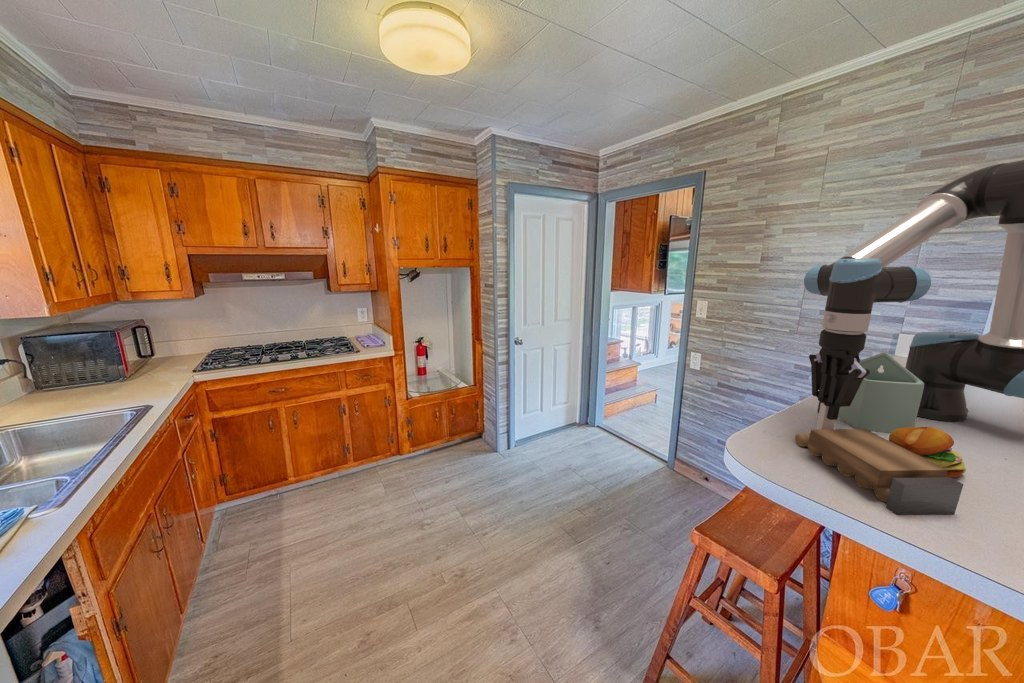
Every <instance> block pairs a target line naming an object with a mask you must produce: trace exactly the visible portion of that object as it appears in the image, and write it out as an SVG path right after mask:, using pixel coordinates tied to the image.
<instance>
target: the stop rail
mask: <svg viewBox="0 0 1024 683" xmlns="http://www.w3.org/2000/svg"><path fill="white" fill-rule="evenodd" d="M963 488H964V483H963V482H960V481H958V480H956V479H954V478H953V477H936V478H893V480H892V484H891V488H890V492H889V496H888V500H887V502H886V504H885V508H886V509H887V510H889V511H891V512H892V513H893V514H895V515H896V516H901V515H902V516H912V515H914V516H922V515H923V516H925V515H926V516H927V515H928V516H930V515H931V516H933V515H934V516H935V515H936V516H937V515H939V516H940V515H941V516H943V515H955V514H956V510H957V507H958V504H959V501H960V497H961V494H962V491H963Z"/></svg>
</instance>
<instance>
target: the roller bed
mask: <svg viewBox="0 0 1024 683" xmlns="http://www.w3.org/2000/svg"><path fill="white" fill-rule="evenodd" d="M809 436H810V432H808V433H807V432H806V433H801V432H800V433H796V434H795V436H794V437H795V438H794V439H795V443H796V445H797V446H799V447H807V449H808V452H809V453H810V454H811V455H813V456H821V457H822V460H823V462H824V464H826V466H827V465H828V466H837V469H838V471H839V473H840V474H841V475H842V476H844V477H854V480H855V482H856V484H857V485H858V486H859V487H860V488H862V489H873V490H874V494H875V496H876V498H877V499H878V500H880V501H881V502H884V503H887V500H888V496H889V492H890V488H876V487H875V486H873V485H872V484H870V483H868V482H867V481H865V480H864V479H862V478H861V477H859V476H857V475H856V474H854V473H853V472H851V471H850V470H848V469H847V468H845V467H843V466H842V465H840V464H839V463H837V462H836V461H834V460H833V459H831V458H829V457H828V456H826V455H825V454H823V453H822V452H820V451H818V450H817V449H815V448H814V447H812V446H811V445H809V444H808V441H809Z"/></svg>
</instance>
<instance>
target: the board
mask: <svg viewBox="0 0 1024 683" xmlns="http://www.w3.org/2000/svg"><path fill="white" fill-rule="evenodd" d="M809 433H810V436H809V441H808V444H809V445H811V446H812V447H814V448H815V449H817V450H818V451H820V452H822V453H823V454H825V455H826V456H828V457H829V458H831V459H833V460H834V461H836V462H837V463H839V464H840V465H842V466H843V467H845V468H847V469H848V470H850V471H851V472H853V473H854V474H856V475H857V476H859V477H861V478H862V479H864V480H865V481H867V482H868V483H870V484H872V485H873V486H875V487H876V488H891V484H892V480H893V478H936V477H946V475H947V472H948V470H947V469H945V468H943V467H941V466H939V465H937V464H935V463H933V462H931V461H929V460H927V459H925V458H923V457H921V456H919V455H917V454H915V453H913V452H911V451H909V450H907V449H904V448H902V447H900V446H898V445H896V444H894V443H892V442H890V441H889V439H886V438H884V437H882V436H880V435H878V434H876V433H874V432H873V431H868V430H866V429H855V428H846V429H845V428H840V429H838V428H835V429H834V428H833V429H816V428H815V429H814V428H813V429H810V432H809Z"/></svg>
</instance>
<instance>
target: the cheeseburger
mask: <svg viewBox="0 0 1024 683" xmlns="http://www.w3.org/2000/svg"><path fill="white" fill-rule="evenodd" d="M889 434H890V435H889V437H888V441H890V442H892V443H894V444H896V445H898V446H900V447H902V448H904V449H907V450H909V451H911V452H913V453H915V454H917V455H919V456H921V457H923V458H925V459H927V460H929V461H931V462H933V463H935V464H937V465H939V466H941V467H943V468H945V469H947V470H948V472H947V475H946V477H950V478H954V477H955V478H956V477H960V476H961V475H963V474H965V473H966V471H967V468H966V465H965V462H964V459H963V457H962V455H960V453H958V452H957V451H955V450H953V448H952V447H953V446H954V444H955V440H954V439H953V437H952V436H951V435H949V433H947V432H945V431H943V430H942V429H939V428H936V427H933V426H914V427H906V428H898V429H896V430H893V431H892V433H889Z"/></svg>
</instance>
